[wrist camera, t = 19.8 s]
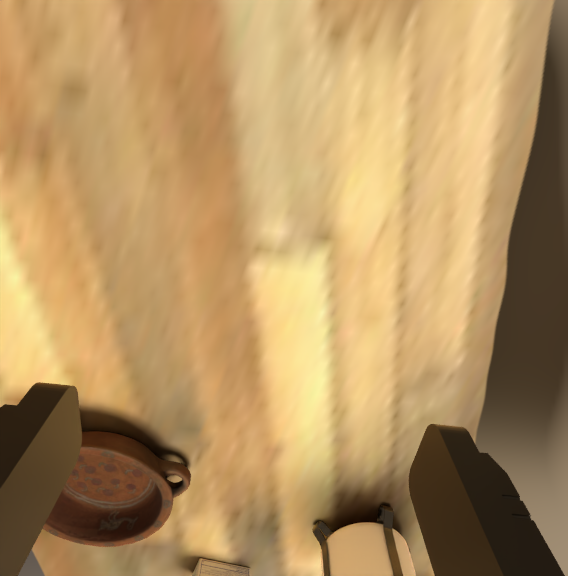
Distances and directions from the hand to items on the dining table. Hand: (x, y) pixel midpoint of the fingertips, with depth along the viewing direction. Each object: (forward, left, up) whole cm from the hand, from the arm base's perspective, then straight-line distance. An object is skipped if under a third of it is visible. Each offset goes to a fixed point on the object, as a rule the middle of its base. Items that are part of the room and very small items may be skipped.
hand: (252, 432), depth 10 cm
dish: (-16, -40, -30) cm, 53 cm away
